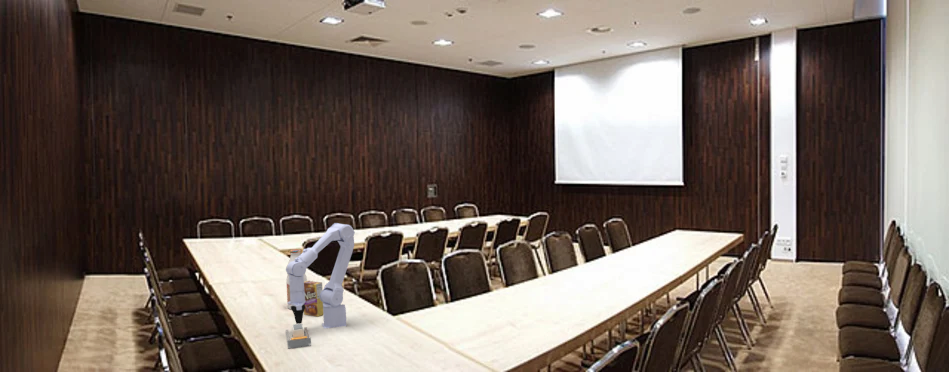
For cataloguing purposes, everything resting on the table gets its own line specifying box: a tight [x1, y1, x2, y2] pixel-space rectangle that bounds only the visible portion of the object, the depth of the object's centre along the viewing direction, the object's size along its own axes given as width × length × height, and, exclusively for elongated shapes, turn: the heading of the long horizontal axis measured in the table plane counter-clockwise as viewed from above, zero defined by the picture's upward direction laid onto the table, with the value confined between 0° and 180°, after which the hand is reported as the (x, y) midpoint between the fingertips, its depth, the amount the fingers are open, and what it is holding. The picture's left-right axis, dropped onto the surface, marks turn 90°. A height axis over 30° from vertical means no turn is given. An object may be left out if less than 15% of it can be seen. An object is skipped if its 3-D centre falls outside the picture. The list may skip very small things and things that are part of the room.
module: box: [291, 323, 305, 338], centre depth 230 cm, size 4×7×6 cm, turn 20°
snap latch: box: [290, 335, 307, 340], centre depth 226 cm, size 6×2×3 cm, turn 110°
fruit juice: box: [285, 248, 308, 310], centre depth 285 cm, size 9×9×28 cm
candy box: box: [303, 280, 324, 318], centre depth 271 cm, size 9×4×15 cm, turn 60°
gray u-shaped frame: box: [285, 327, 312, 350], centre depth 235 cm, size 11×22×4 cm, turn 20°
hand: (298, 323), depth 242 cm, fingers closed
